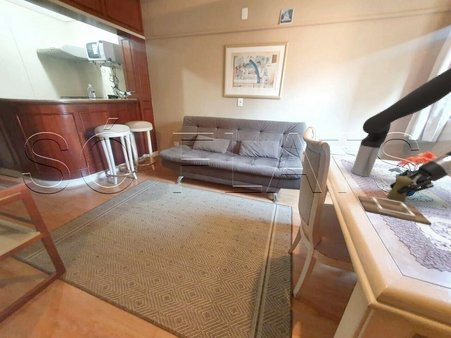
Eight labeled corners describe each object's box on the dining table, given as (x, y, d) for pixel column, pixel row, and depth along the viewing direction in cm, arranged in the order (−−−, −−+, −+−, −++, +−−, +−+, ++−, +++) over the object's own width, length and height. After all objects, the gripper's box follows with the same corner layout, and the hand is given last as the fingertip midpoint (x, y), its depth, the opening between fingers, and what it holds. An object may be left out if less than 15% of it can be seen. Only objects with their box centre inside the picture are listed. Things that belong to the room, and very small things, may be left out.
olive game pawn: (407, 203, 81) (418, 180, 76) (392, 201, 82) (402, 179, 77) (398, 196, 86) (408, 175, 82) (384, 194, 87) (393, 173, 83)
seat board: (357, 197, 84) (359, 193, 83) (413, 208, 77) (415, 204, 77) (365, 211, 73) (367, 207, 73) (430, 225, 67) (433, 220, 66)
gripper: (421, 155, 82) (380, 177, 88) (450, 167, 69) (400, 191, 75) (429, 168, 83) (389, 188, 89) (460, 181, 70) (410, 204, 76)
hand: (394, 189), depth 82 cm, fingers closed on olive game pawn, 4 cm apart
